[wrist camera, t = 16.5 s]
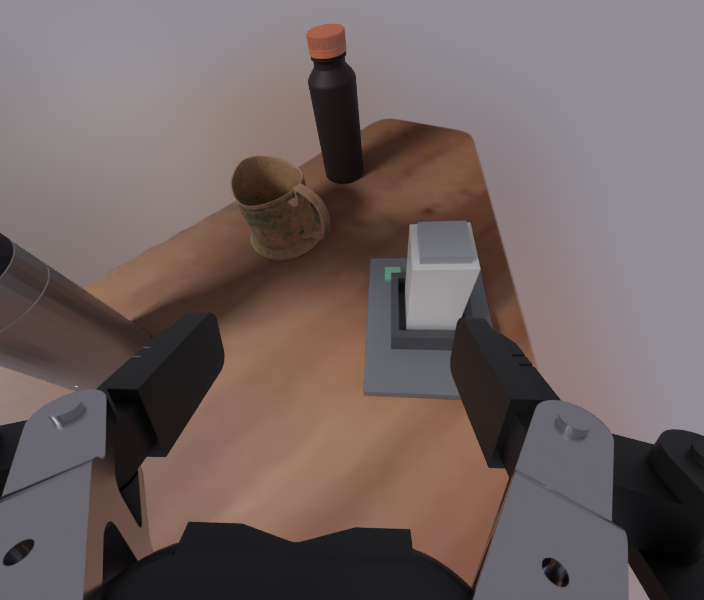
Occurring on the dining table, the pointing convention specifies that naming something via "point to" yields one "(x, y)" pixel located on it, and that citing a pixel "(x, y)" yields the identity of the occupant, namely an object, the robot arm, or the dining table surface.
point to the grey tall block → (439, 274)
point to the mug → (278, 207)
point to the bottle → (335, 103)
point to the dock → (408, 339)
